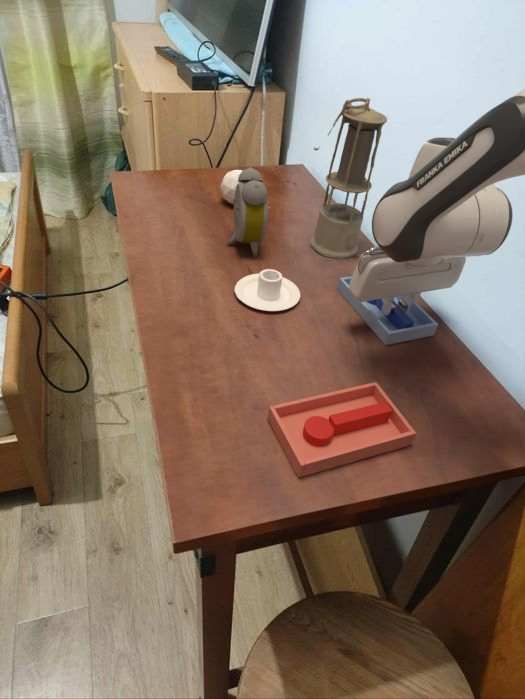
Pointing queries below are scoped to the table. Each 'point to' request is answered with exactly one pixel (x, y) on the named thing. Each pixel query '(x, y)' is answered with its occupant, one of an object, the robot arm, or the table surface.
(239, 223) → the alarm clock
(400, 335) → the blue tray
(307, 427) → the red spoon
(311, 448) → the red tray
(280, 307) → the candle holder
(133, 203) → the table surface
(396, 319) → the blue spoon
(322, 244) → the lamp
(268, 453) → the table surface
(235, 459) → the table surface
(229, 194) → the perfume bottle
